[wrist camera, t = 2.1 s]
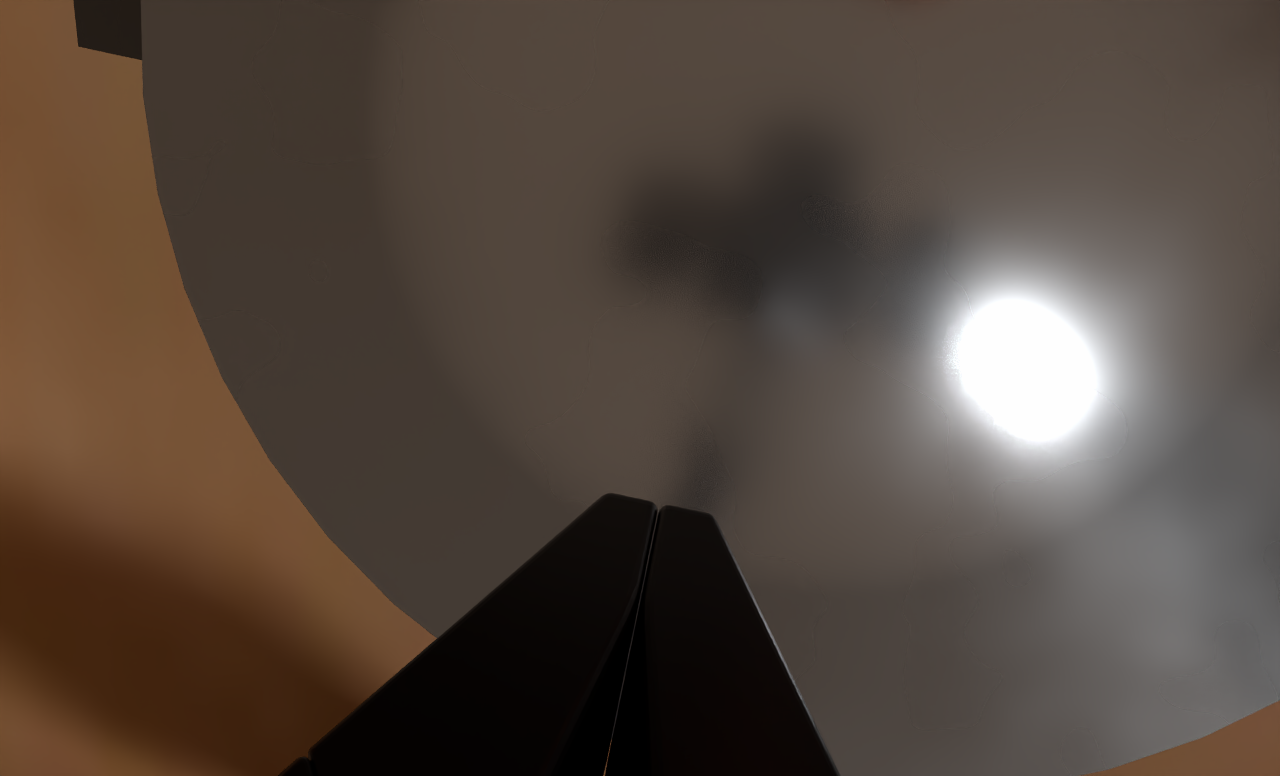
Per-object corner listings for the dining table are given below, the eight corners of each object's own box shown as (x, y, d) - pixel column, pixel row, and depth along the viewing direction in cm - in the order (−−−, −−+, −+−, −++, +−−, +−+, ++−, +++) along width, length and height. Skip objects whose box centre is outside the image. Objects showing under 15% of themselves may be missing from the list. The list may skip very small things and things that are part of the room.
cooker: (1252, 541, 22) (1360, 720, 18) (225, 312, 23) (91, 431, 19) (1957, -595, 13) (2543, -797, 8) (176, -922, 13) (-116, -1261, 9)
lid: (329, -846, 10) (221, -1185, 8) (1832, -568, 10) (2194, -841, 8) (89, 588, 12) (-64, 661, 9) (1383, 889, 11) (1565, 1046, 9)
